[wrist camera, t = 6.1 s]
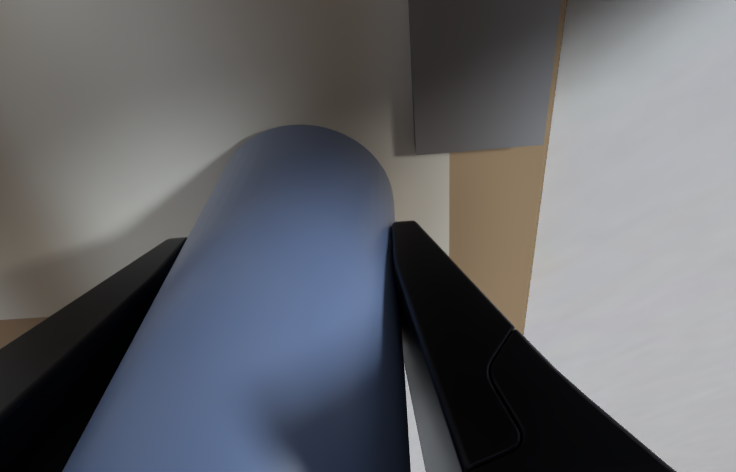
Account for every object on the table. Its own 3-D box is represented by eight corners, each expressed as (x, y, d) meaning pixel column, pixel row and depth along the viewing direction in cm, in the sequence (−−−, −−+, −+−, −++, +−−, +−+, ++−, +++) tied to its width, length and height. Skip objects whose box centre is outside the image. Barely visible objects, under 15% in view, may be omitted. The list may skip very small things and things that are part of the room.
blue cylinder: (392, 102, 9) (446, 773, 2) (402, 259, 11) (446, 845, 4) (197, 120, 9) (-304, 772, 2) (244, 270, 12) (49, 841, 5)
